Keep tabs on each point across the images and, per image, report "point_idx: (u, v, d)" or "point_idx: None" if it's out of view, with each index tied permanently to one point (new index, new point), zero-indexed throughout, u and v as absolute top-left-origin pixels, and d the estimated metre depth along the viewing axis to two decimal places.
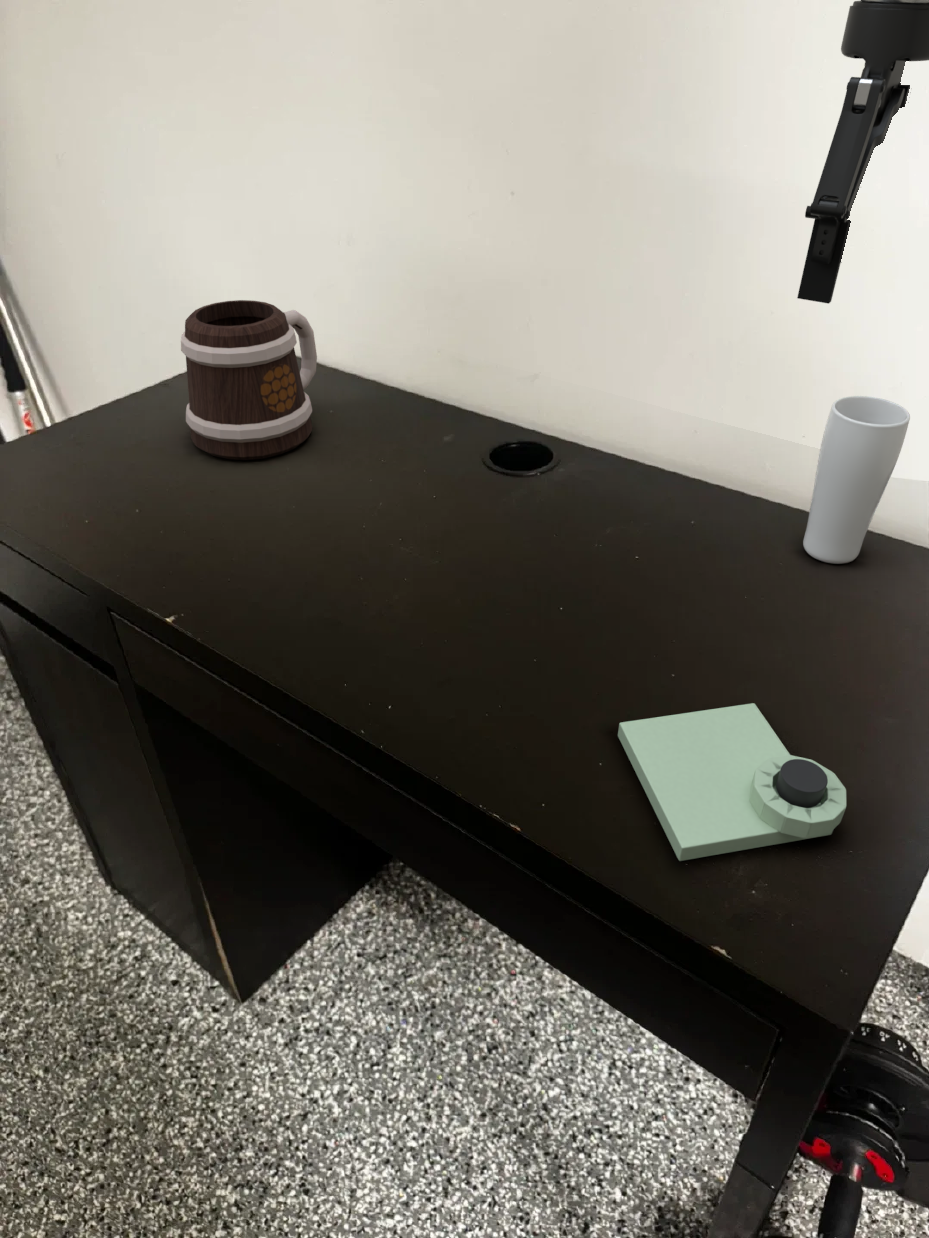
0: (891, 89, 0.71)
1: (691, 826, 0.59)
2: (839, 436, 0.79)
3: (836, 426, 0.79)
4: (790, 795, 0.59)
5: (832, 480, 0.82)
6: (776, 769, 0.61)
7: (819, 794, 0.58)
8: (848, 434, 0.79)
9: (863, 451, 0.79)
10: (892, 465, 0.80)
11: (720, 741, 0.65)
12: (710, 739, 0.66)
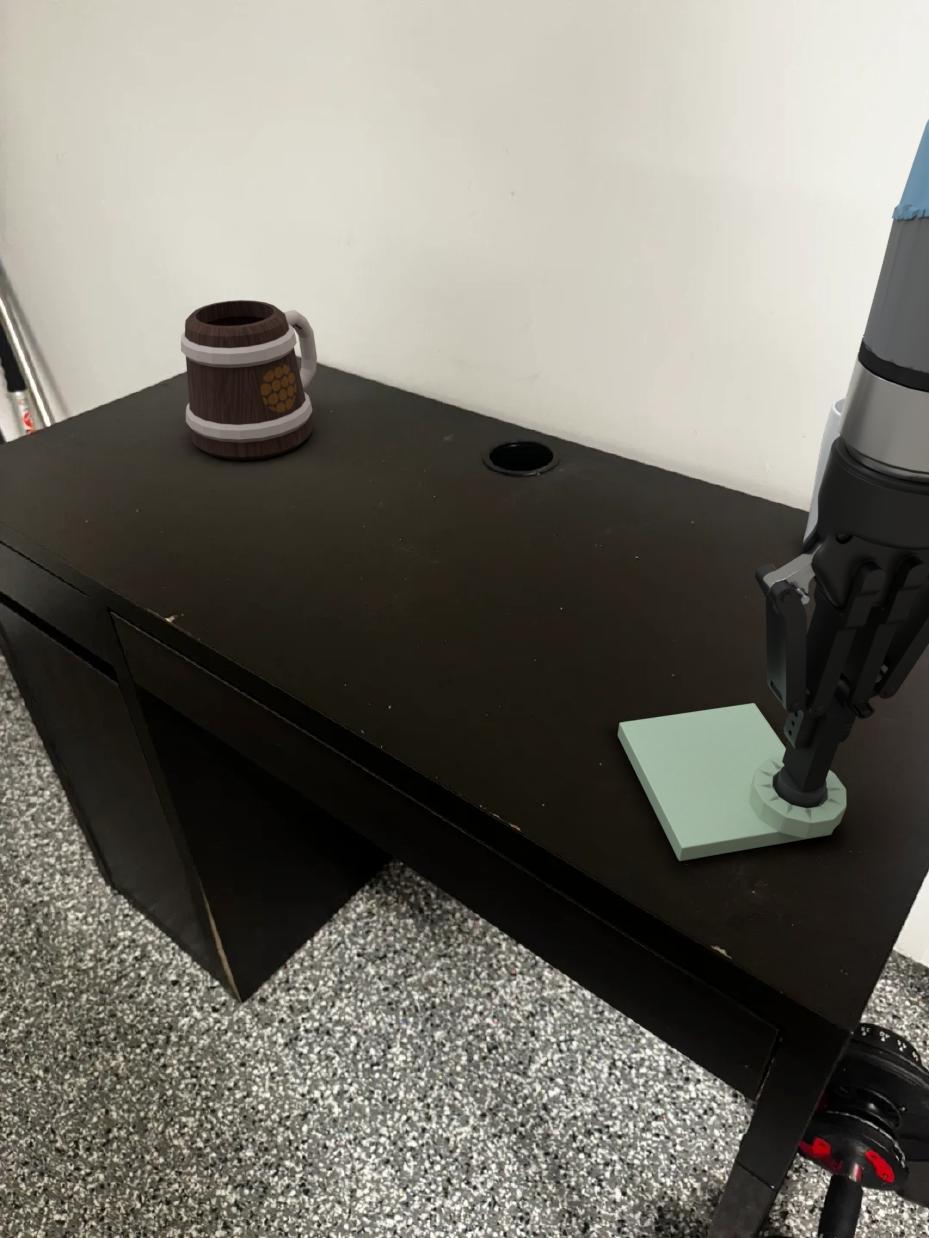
0: (853, 571, 0.47)
1: (691, 826, 0.59)
2: None
3: (836, 426, 0.80)
4: (789, 798, 0.59)
5: None
6: (776, 769, 0.61)
7: (818, 797, 0.58)
8: None
9: None
10: None
11: (720, 741, 0.65)
12: (710, 739, 0.66)
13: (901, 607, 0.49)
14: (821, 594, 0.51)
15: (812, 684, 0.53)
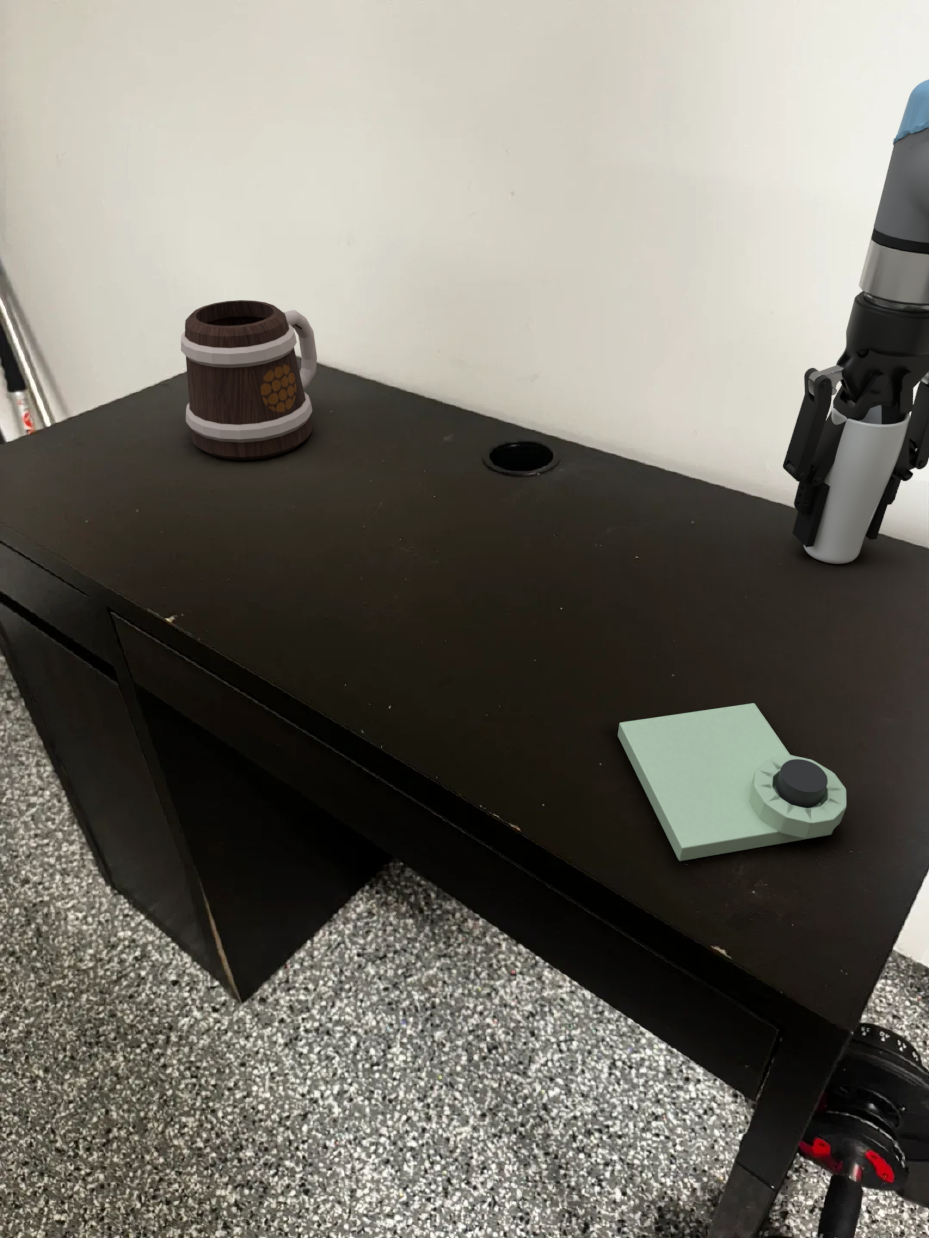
0: (869, 375, 0.76)
1: (691, 826, 0.59)
2: None
3: None
4: (790, 795, 0.59)
5: (832, 480, 0.82)
6: (776, 769, 0.61)
7: (819, 794, 0.58)
8: (848, 434, 0.79)
9: (863, 451, 0.79)
10: (892, 464, 0.80)
11: (720, 741, 0.65)
12: (710, 739, 0.66)
13: (906, 402, 0.78)
14: (839, 399, 0.80)
15: (818, 461, 0.81)
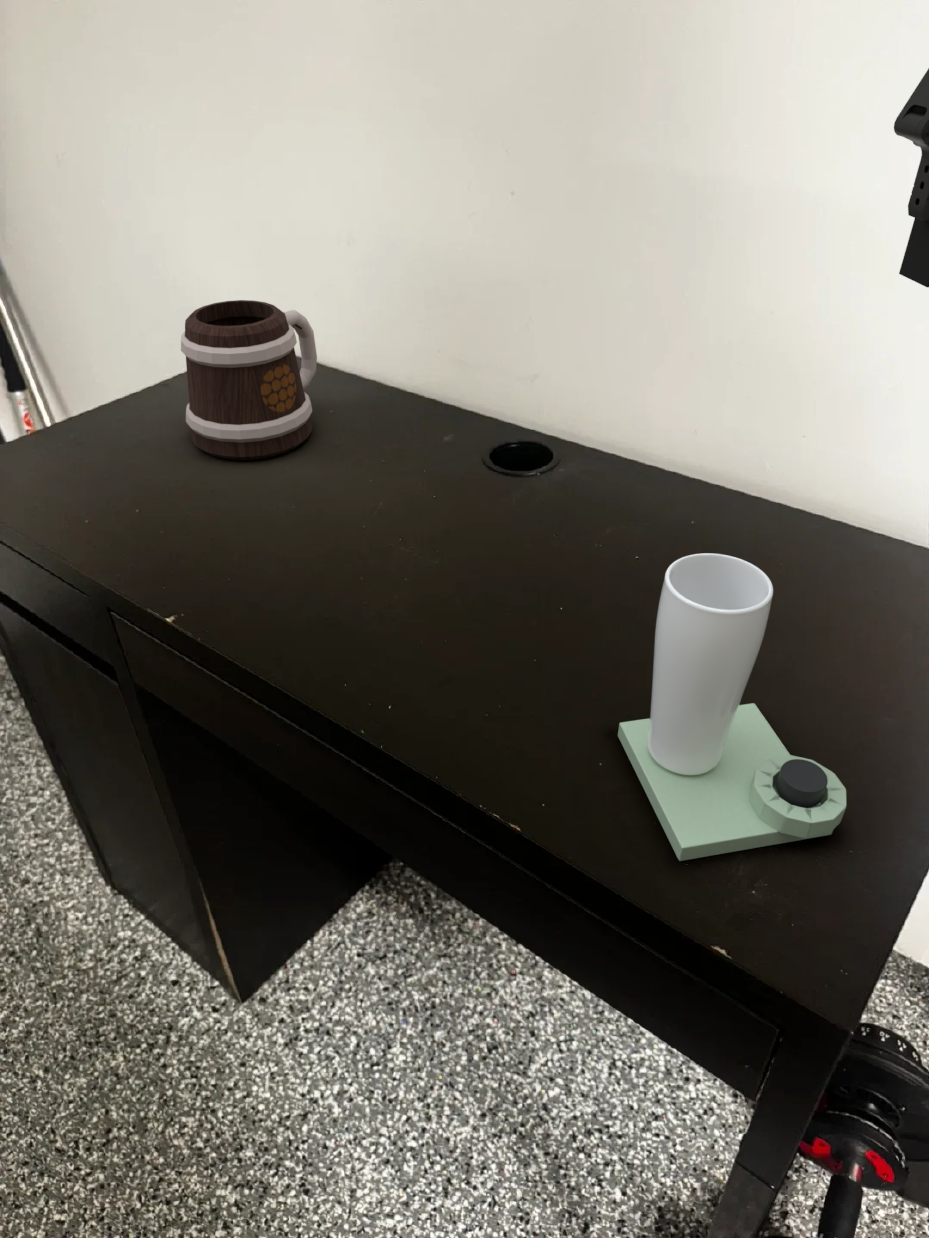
0: None
1: (691, 826, 0.59)
2: (673, 619, 0.55)
3: (669, 605, 0.55)
4: (790, 795, 0.59)
5: (669, 674, 0.58)
6: (776, 769, 0.61)
7: (819, 794, 0.58)
8: (684, 619, 0.54)
9: (705, 643, 0.54)
10: (751, 658, 0.56)
11: None
12: None
13: None
14: None
15: None
